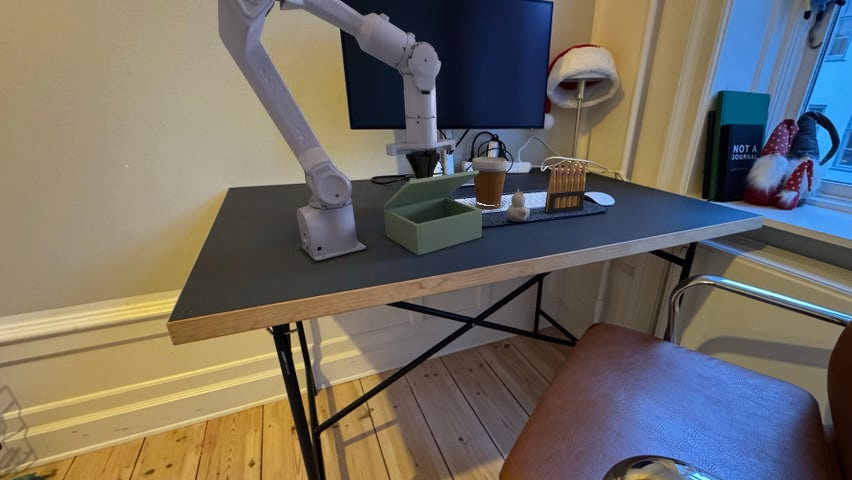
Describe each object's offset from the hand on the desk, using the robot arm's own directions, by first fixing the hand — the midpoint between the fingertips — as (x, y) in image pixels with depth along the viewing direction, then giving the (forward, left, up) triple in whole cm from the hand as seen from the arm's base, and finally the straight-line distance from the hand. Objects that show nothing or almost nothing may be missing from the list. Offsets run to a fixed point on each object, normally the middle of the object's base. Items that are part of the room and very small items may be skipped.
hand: (424, 189), depth 75 cm
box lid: (0, -2, 0) cm, 2 cm away
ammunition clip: (+37, -8, -10) cm, 39 cm away
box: (0, -3, -9) cm, 10 cm away
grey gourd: (+21, -7, -10) cm, 24 cm away
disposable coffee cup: (+24, +7, -10) cm, 27 cm away
